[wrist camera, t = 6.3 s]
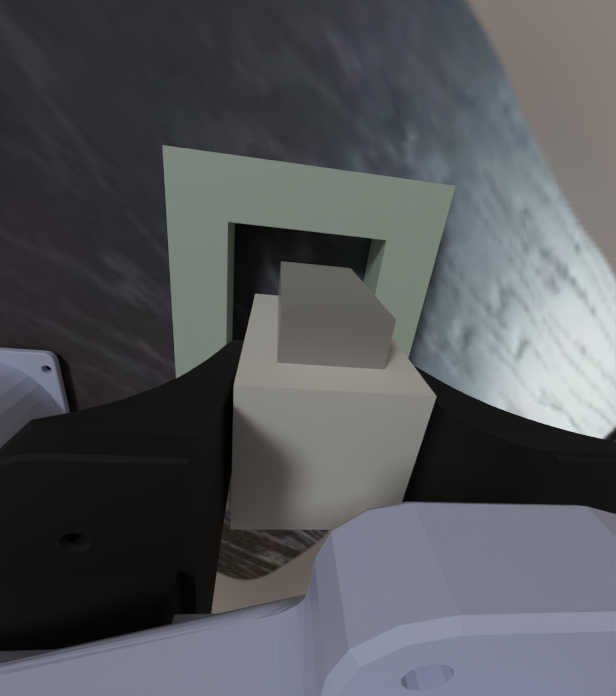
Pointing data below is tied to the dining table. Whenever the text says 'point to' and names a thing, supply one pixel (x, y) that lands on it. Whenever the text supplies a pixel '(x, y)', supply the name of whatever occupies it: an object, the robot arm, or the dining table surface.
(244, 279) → the dining table surface
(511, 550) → the robot arm
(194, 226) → the socket board
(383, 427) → the plug
